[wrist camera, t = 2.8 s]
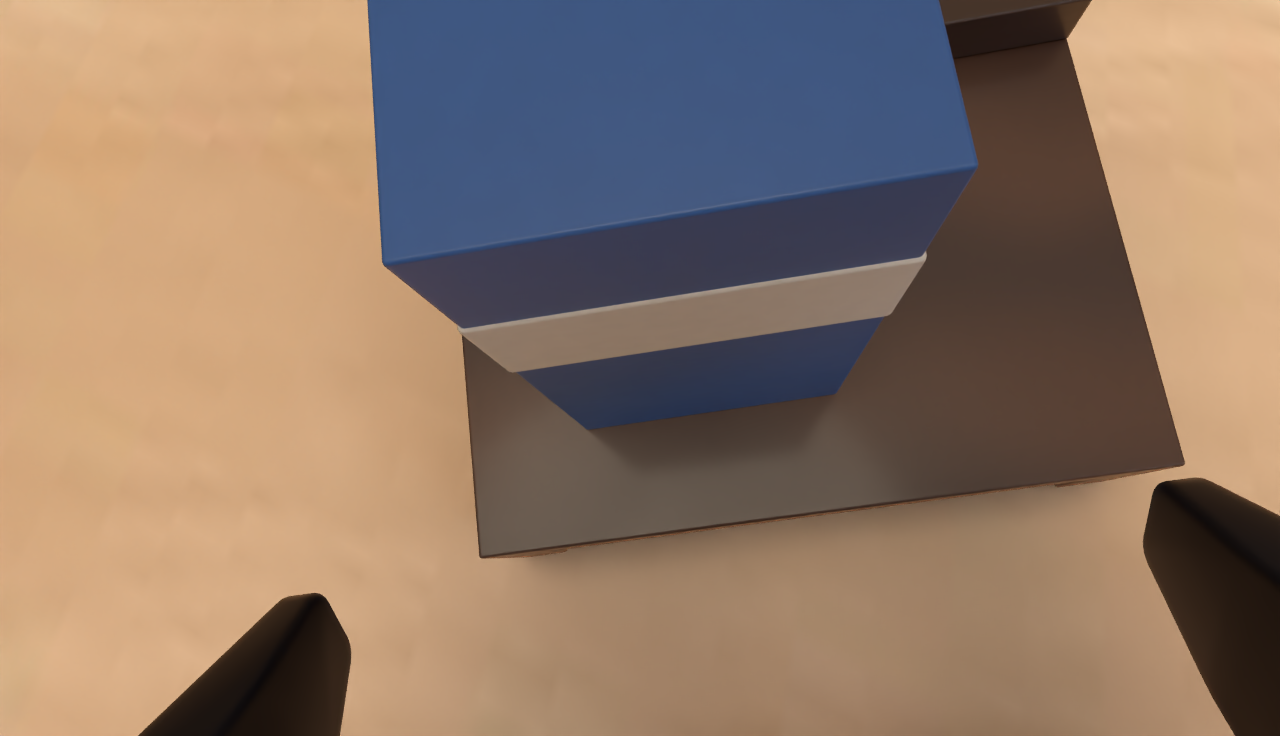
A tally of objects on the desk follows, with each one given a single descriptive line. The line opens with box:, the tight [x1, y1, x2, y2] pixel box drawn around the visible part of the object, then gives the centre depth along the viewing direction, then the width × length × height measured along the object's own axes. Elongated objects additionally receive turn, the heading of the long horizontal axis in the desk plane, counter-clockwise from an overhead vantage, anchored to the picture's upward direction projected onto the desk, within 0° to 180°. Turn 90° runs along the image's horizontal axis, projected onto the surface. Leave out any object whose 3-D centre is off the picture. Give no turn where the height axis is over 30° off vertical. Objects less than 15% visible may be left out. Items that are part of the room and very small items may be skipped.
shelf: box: [462, 0, 1185, 558], centre depth 20 cm, size 11×15×6 cm
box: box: [367, 0, 978, 430], centre depth 14 cm, size 6×6×11 cm
